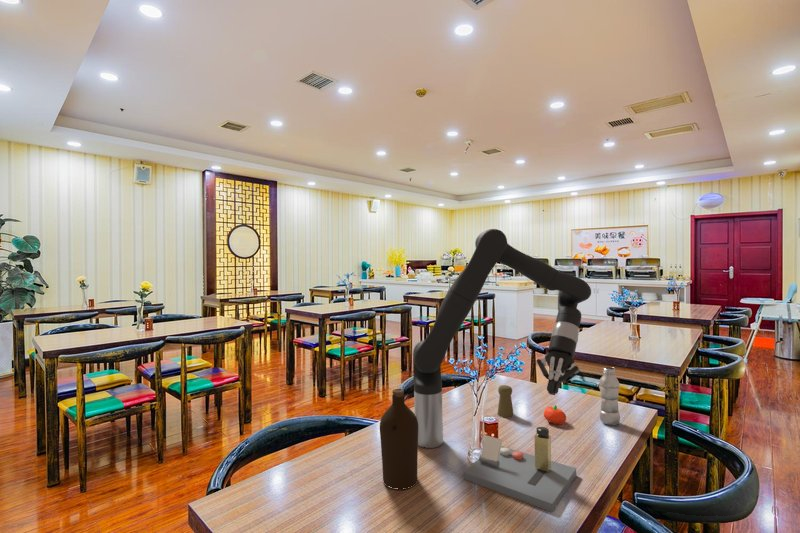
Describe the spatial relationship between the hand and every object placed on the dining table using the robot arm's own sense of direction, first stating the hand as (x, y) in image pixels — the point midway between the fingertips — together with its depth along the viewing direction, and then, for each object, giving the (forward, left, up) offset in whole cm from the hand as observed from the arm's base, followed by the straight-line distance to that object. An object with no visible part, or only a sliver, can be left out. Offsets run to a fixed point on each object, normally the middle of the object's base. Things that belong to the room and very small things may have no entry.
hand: (551, 393), depth 118 cm
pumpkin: (+4, +30, -20) cm, 36 cm away
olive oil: (-42, -18, -20) cm, 50 cm away
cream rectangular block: (-18, -10, -18) cm, 27 cm away
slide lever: (-3, -9, -18) cm, 20 cm away
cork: (-13, +34, -20) cm, 41 cm away
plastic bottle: (+23, +32, -20) cm, 44 cm away
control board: (-10, -10, -20) cm, 25 cm away
